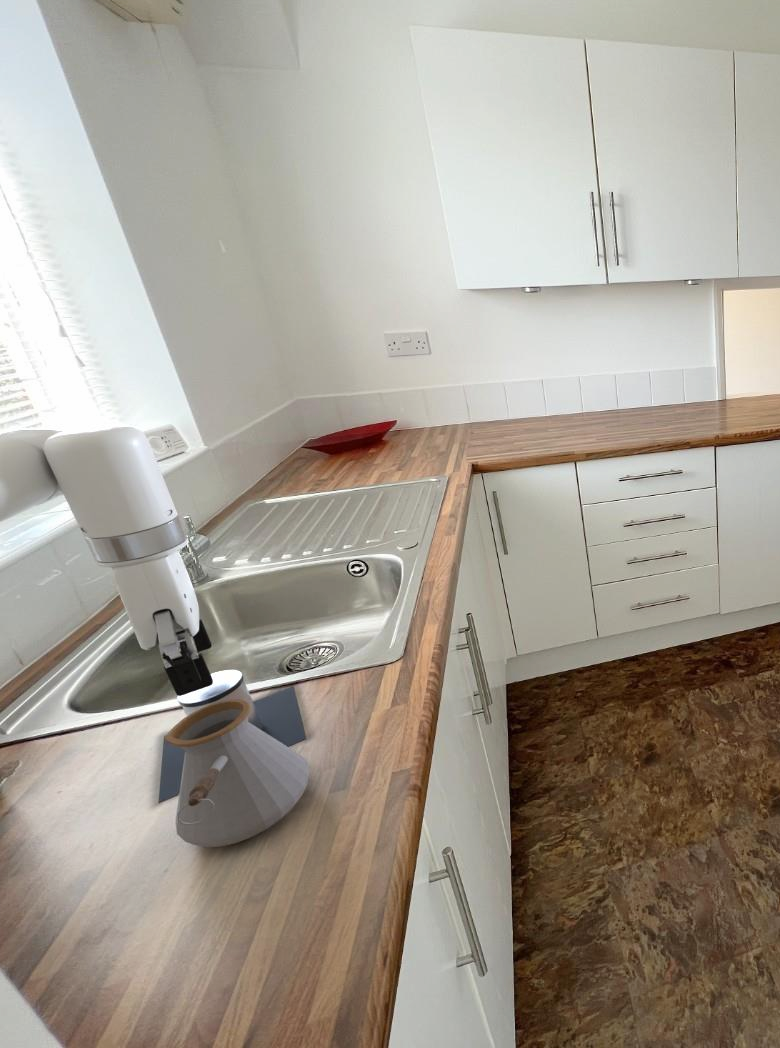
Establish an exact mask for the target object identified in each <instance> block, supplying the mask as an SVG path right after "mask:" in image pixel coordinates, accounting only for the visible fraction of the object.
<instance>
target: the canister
mask: <svg viewBox="0 0 780 1048" xmlns="http://www.w3.org/2000/svg"><path fill="white" fill-rule="evenodd" d="M210 674H211V676H212V679H213V684H212V685H211V686H208V687H205V688H202V689H199V690H197V691H194V692H191V693H188V694H185V695H182V696H178V695H177V697H176V699H177V702H178V704H179V705H180V706H181V707H182V710H183V711H184V714H185V715H186V717H187V716H188V715H190V714H191V713H193V712H195V711H197V710H199V709H201V708H203V707H206V706H208V705H211V704H214V703H217V702H220V701H225V700H230V699H241V700H245V701H246V702H248V703H249V704H250V712H249V714H248V722H249V723H251V724H252V725H254V726H256V727H257V728H259V729H260V730H262V729H263V723H262V721H261V719H260V716H259V714H258V712H257V710H256V707H255V705H254V703H253V701H254V700H253V698H252V696H251V693H250V692H249V688H248V687H247V685H246V683H245V681H244V675H243V673H242V672H241V671H239V670H237V669H227V670H220V671H218V672H217V671H216V672H213V673H210Z"/></svg>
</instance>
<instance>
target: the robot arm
mask: <svg viewBox="0 0 780 1048" xmlns="http://www.w3.org/2000/svg"><path fill="white" fill-rule="evenodd" d="M62 496H64V498H65V499H66V502H67V505H68V507H69V509H70V511H71V513H72V515H73V517H74V519H75V521H76V524H77V525H78V527H79V530H80V531H81V534H82V536H83V538H84V541H85V542H86V544H87V546H88V548H89V550H90V553H91V555H92V557H93V559H94V561H95V563H96V565H97V566H99V567H101V568H110V569H111V573H112V576H113V579H114V583H115V586H116V589H117V592H118V595H119V597H120V599H121V602H122V605H123V608H124V610H125V612H126V615H127V617H128V620H129V622H130V624H131V627H132V629H133V632H134V635H135V637H136V639H137V642H138V644H139V647H140V648H141V649H143V650H145V651H150V650H151V649H152V648H153V647H156V644H157V645H158V650H159V652H160V657H161V659H162V662H163V669H164V670H165V671H164V672H165V673H166V675H167V677H168V679H169V681H170V683H171V686H172V688H173V690H174V693H175V694H176V695H177V697H178V696H182V695H185V694H188V693H191V692H194V691H197V690H199V689H202V688H205V687H208V686H211V685H212V684H213V679H212V676H211V674H212V673H211V672H210V669H209V667H208V665H207V663H206V660H205V658H204V656H203V653H200V652H203V651H206V650H209V649H211V648H212V641H211V638H210V637H209V634H208V632H207V630H206V627H205V624H204V622H203V620H202V618H200V606H199V603H198V598H197V595H196V592H195V588H194V585H193V583H192V580H191V578H190V575H189V573H188V570H187V567H186V565H185V563H184V560H183V558H182V555H181V554H180V550H182V549H183V548H185V547H186V546H188V545H189V543H190V541H189V537H188V536H187V533H186V530H185V528H184V525H183V523H182V520H181V518H180V515H179V514H178V510H177V509H176V506H175V503H174V500H173V498H172V496H171V494H170V490H169V488H168V486H167V483H166V481H165V478H164V476H163V473H162V471H161V469H160V466H159V464H158V461H157V459H156V456H155V454H154V451H153V449H152V446H151V444H150V441H149V440H148V437H147V436H146V434H145V433H144V432H143V431H142V430H141V429H140V428H138V427H136V426H133V425H130V424H102V425H94V426H87V427H81V428H76V429H64V428H63V429H61V428H60V429H59V428H41V427H40V428H39V427H38V428H37V427H28V428H26V427H24V428H15V429H14V428H13V429H7V430H2V431H0V523H1V522H3V521H6V520H8V519H10V518H12V517H14V516H17V515H19V514H21V513H23V512H25V511H27V510H30V509H31V508H34V507H36V506H40V505H42V504H45V503H48V502H50V501H52V500H55V499H58V498H59V497H62Z"/></svg>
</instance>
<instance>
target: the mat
mask: <svg viewBox="0 0 780 1048" xmlns="http://www.w3.org/2000/svg"><path fill="white" fill-rule="evenodd" d="M252 701H253V703H254V705H255V707H256V710H257V712H258V714H259V716H260V719H261V721H262V723H263V729H262V731H263V732H265V733H267V734H268V735H270V736H271V737H273V738H275V739H276V740H278V741H279V742H281V743H282V744H284V745H286V746H287V747H289V748H290V747H292V746H294V745H296V744H298V743H300V742H303V741H305V740H307V735H306V731H305V728H304V723H303V719H302V715H301V710H300V707H299V704H298V699H297V694H296V691H295V687H294V685H292V686H289V687H286V688H284V689H282V690H278V691H276V692H274V693H272V694H268V695H266V696H264V697H261V698H259V699H256V700H252ZM166 735H167V734H165V735H164V736H163V743H162V755H161V756H162V757H161V769H160V778H159V790H158V791H159V793H158V794H159V795H158V804H161V803H163V802H165V801H168V800H170V799H172V798H174V797H177V796H179V793H180V786H181V778H182V771H183V764H184V757H185V750H184V749H182V748H181V747H178V746H174V745H172V744H170V743H168V742H167V741H166V740H165V739H164V737H165V736H166Z"/></svg>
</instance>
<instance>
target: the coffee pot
mask: <svg viewBox="0 0 780 1048" xmlns="http://www.w3.org/2000/svg"><path fill="white" fill-rule="evenodd" d="M249 712H250V704H249V703H248V702H246V701H245V700H241V699H230V700H225V701H220V702H217V703H214V704H211V705H208V706H206V707H203V708H201V709H199V710H197V711H195V712H193V713H191V714H190V715H188V716H187V715H186V716H185V717H184V718H182V719H181V720H180V721H178V723H176V724H175V725H174V726H173V727H172V728H171V729H170V730H169V731H168V732H167V734H165V735H166V736H165V735H164V736H165V737H164V736H163V740H164V739H165V740H166V741H167V742H168V743H170V744H172V745H174V746H178V747H181V748H182V749H184V750H185V757H184V764H183V771H182V778H181V786H180V793H179V795H178V801H177V807H176V814H175V815H176V816H175V822H174V823H175V829H176V834H177V836H178V837H180V839H181V840H182V841H184V842H185V843H188V844H191V845H193V846H197V847H200V848H216V847H217V848H219V847H226V846H230V845H234V844H238V843H240V842H243V841H246V840H248V839H251V838H253V837H255V836H257V835H258V834H260V833H262V832H264V831H266V830H267V829H269V828H270V827H272V826H273V825H275V824H276V823H277V822H279V821H281V820H282V819H283V818H284V817H285V816H286V815H287V814H288V813H289V812H290V811H292V809H293V808H294V807H295V805H296V804H297V803H298V802H299V800H300V798H301V797H302V796H303V795H304V793H305V790H306V789H307V786H308V783H309V779H310V770H311V769H310V767H311V766H310V764H309V762H308V760H307V758H306V757H304V756H303V755H301V754H300V753H298V752H297V751H295V750H294V749H292V748H290V746H289V747H287V746H286V745H284V744H282V743H281V742H279V741H278V740H276V739H275V738H273V737H271V736H270V735H268V734H267V733H265V732H263V731H262V730H260V729H259V728H257V727H256V726H254V725H252V724H251V723H249V722H248V714H249Z"/></svg>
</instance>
